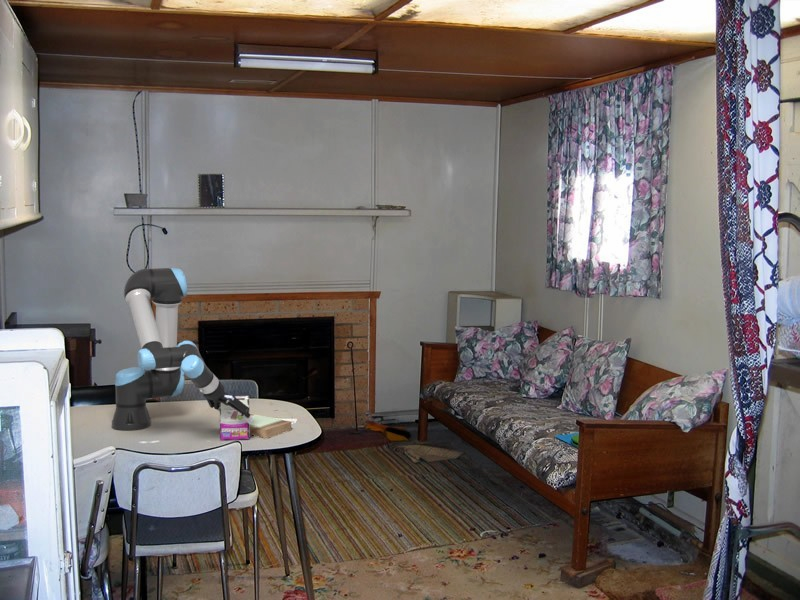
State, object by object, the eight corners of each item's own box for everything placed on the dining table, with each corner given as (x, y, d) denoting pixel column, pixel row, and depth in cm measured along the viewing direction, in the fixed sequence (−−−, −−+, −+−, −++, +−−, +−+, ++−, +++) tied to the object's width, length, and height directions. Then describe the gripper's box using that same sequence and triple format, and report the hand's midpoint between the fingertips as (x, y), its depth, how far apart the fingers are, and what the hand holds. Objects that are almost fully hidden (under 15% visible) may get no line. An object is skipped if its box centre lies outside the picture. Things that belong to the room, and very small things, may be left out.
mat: (233, 422, 339) (233, 421, 339) (255, 415, 350) (255, 414, 349) (260, 427, 331) (260, 426, 331) (282, 420, 342) (282, 419, 342)
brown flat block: (224, 429, 340) (224, 421, 340) (250, 422, 353) (250, 413, 352) (266, 438, 329) (266, 429, 328) (291, 430, 341) (291, 421, 341)
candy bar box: (250, 436, 331) (249, 395, 329) (249, 440, 326) (249, 398, 325) (220, 437, 330) (220, 395, 328) (219, 440, 325) (219, 398, 323)
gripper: (182, 390, 319) (212, 422, 334) (229, 399, 307) (258, 431, 321) (192, 374, 323) (221, 406, 338) (239, 382, 310) (267, 415, 325)
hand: (239, 418), depth 330 cm, fingers closed on candy bar box, 11 cm apart
